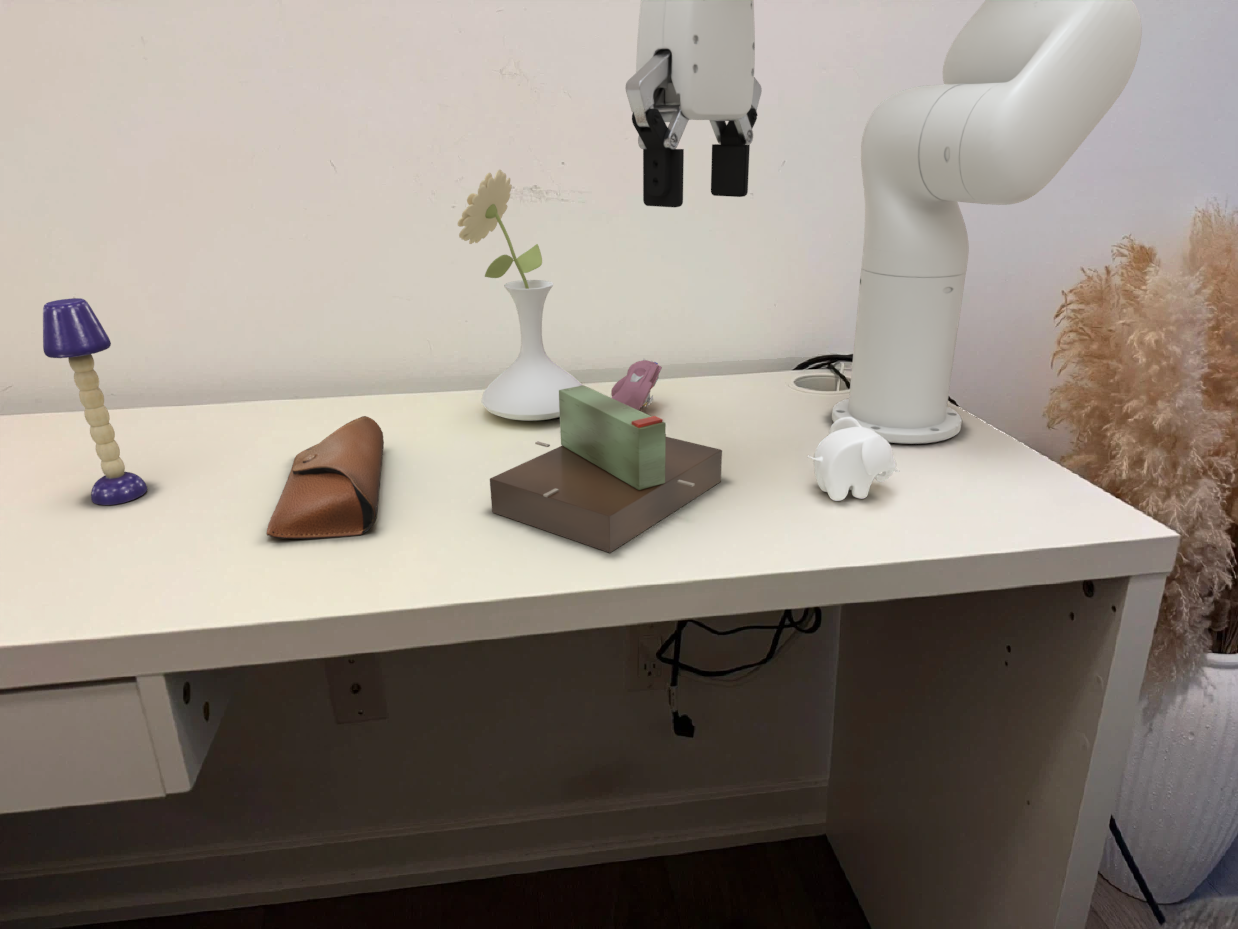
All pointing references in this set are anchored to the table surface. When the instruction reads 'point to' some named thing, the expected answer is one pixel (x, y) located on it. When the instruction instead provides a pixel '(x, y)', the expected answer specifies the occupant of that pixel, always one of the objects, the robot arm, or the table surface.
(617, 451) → the green rectangular block
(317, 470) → the sunglasses case
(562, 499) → the base
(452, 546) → the table surface
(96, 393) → the toy lamp
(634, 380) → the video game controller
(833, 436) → the elephant figurine
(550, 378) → the flower in vase
